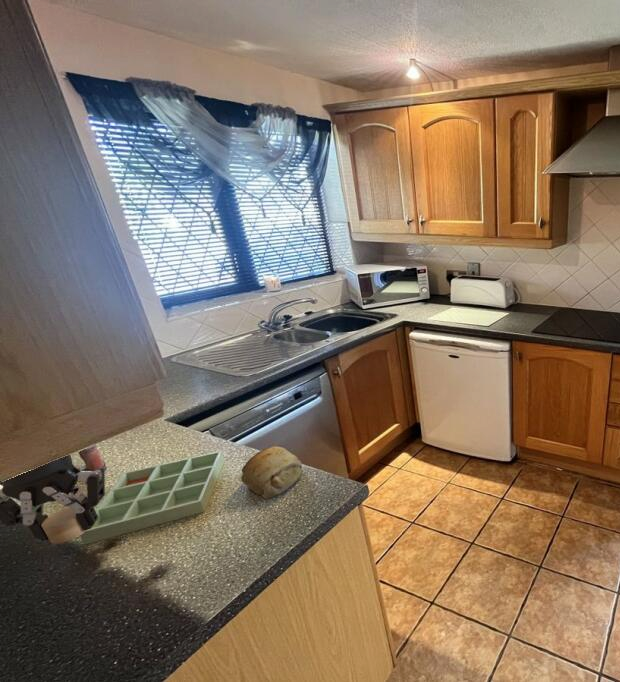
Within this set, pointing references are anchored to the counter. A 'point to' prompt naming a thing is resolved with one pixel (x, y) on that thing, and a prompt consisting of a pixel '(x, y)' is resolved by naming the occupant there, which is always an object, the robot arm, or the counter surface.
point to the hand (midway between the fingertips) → (69, 531)
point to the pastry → (271, 471)
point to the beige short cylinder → (62, 526)
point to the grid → (156, 496)
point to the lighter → (92, 459)
